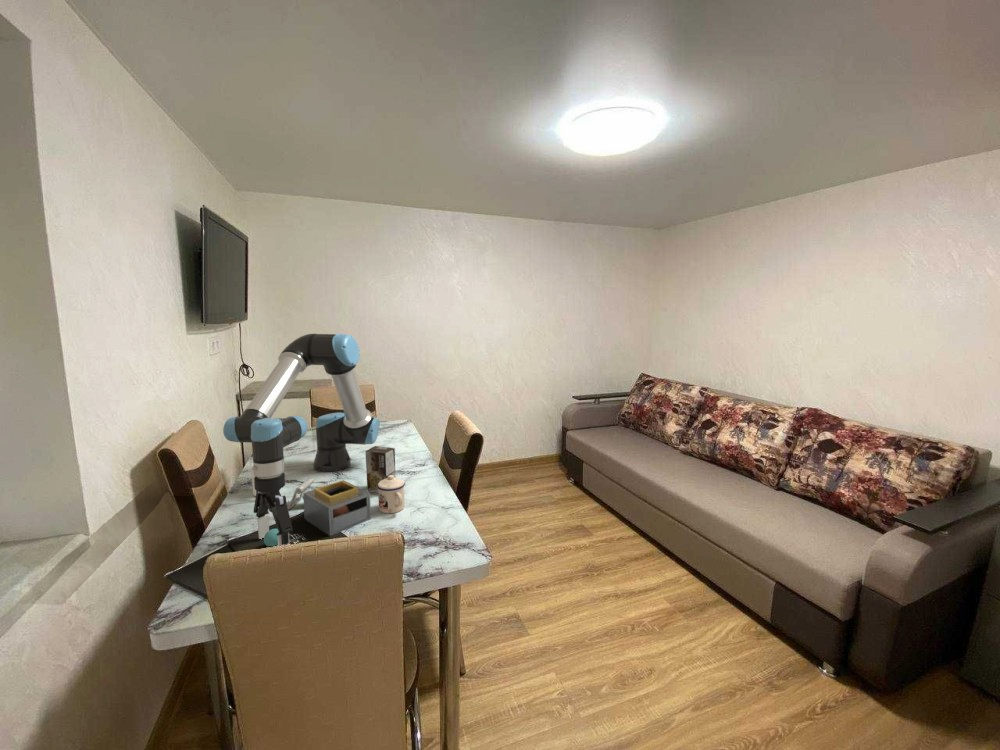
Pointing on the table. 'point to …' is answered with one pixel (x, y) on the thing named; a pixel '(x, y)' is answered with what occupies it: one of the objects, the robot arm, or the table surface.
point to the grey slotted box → (336, 506)
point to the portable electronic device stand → (300, 489)
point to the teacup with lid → (391, 495)
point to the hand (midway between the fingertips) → (273, 545)
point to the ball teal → (271, 537)
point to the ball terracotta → (340, 511)
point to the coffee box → (379, 466)
